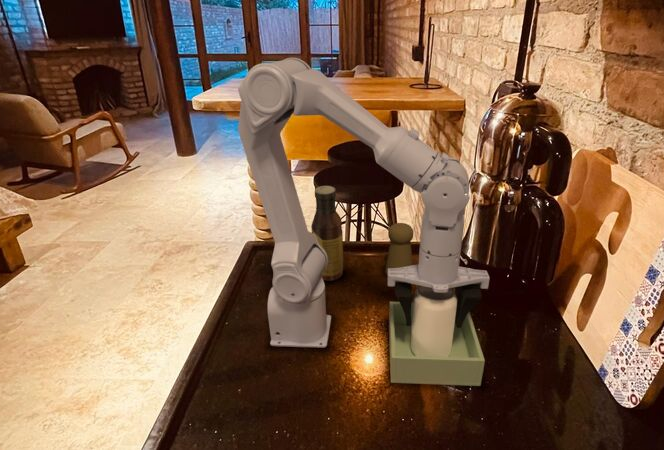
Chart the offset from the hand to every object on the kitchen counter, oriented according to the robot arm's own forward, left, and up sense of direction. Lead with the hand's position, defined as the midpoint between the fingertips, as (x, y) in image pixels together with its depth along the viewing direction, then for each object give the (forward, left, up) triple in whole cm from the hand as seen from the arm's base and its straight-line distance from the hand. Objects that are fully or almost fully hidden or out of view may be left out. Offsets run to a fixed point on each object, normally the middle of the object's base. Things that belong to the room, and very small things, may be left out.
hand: (432, 322), depth 63 cm
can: (0, 0, -6) cm, 6 cm away
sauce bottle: (-19, +22, -6) cm, 30 cm away
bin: (0, 0, -6) cm, 6 cm away
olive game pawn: (-4, +24, -6) cm, 25 cm away
